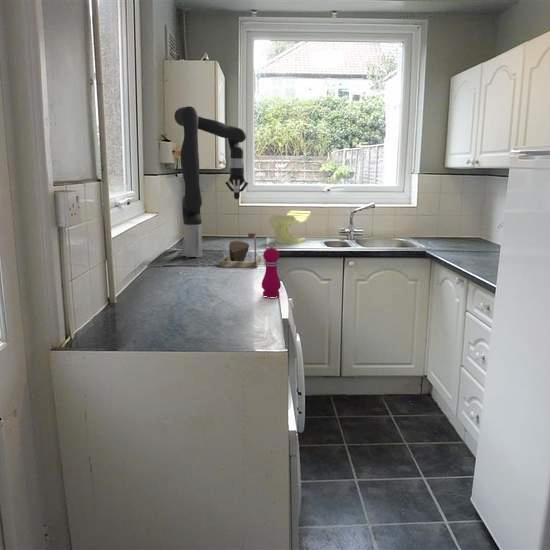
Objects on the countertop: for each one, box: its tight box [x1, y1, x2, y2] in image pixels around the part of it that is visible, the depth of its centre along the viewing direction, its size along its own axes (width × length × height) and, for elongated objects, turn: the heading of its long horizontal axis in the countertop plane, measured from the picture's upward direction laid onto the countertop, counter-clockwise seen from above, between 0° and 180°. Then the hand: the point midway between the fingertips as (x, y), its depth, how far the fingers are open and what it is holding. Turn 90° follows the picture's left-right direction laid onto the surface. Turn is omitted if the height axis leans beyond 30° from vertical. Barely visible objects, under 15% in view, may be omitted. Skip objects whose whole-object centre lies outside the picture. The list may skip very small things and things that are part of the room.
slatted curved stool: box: [268, 210, 312, 245], centre depth 320 cm, size 30×16×18 cm, turn 157°
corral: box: [219, 232, 262, 269], centre depth 252 cm, size 18×16×16 cm
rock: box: [228, 240, 250, 262], centre depth 257 cm, size 12×10×10 cm
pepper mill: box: [261, 243, 282, 297], centre depth 193 cm, size 7×7×20 cm
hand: (236, 199), depth 283 cm, fingers closed
